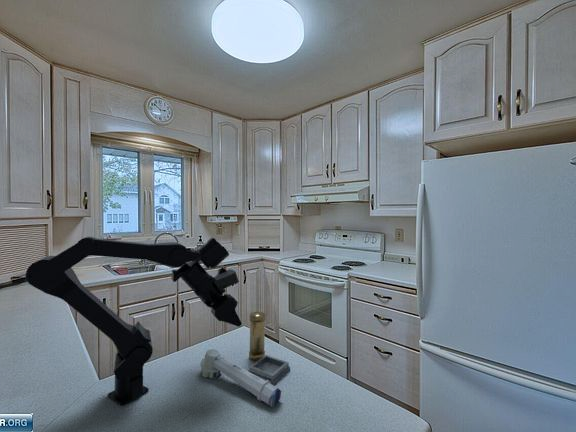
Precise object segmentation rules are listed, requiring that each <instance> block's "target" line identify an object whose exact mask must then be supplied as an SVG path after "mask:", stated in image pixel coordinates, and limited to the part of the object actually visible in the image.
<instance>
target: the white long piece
mask: <svg viewBox="0 0 576 432" xmlns="http://www.w3.org/2000/svg"><path fill="white" fill-rule="evenodd" d="M248 371H249V370H246V369H244V368H243V367H241V366H239V365H237V364H235V363H233V362H232V361H230V360H228V359H225V358H224V357H222V356H221V353H220V352H219V351H218V350H217V349H208V350H207V351H206V352H205V354H204V358H203V359H201V361H200V373H201V376H203V377H204V378H205V379H206V378H210V379H213V378H214V379H215V378H217V377H219V376H220V374H221V373H222V374H224V375H225V376H226V377H228V379H230V380H232V381H234V382H235V383H237V384H238V385H239V386H241V387H242V388H244V390H246V391H248V392H249V393H251V394H252V395H254V396H255V397H256V398H257V399H256V400H258V401H260V402H264V403H265V404H266V405H268V406H269V407H271V408H274V407H275V406H277V404H278V403H279V401H280V399H281V397H282V390H281V389H280V388H278V387H276V386H275V385H272V384H271V382H270V381H268V380H267V381H265V380H263V379H261V378H260V377H258V376H256V375H254V374H252V373H250V372H248Z"/></svg>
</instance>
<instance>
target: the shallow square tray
mask: <svg viewBox="0 0 576 432" xmlns="http://www.w3.org/2000/svg"><path fill="white" fill-rule="evenodd" d="M247 371H248V372H250V373H252V374H254V375H256V376H258V377H260V378H261V379H263V380H265V381H267V380H268V381H270V382H271V384H272V385H273V386H275V385H276V383H278V382H279V381H280V380H281V379H282V378H283V377H285V375H287V373H289V372H290V371H291V366H290V363H289V362H288V361H285V360H282V359H280V358H276V357H273V356H271V355H267V354H265V356H264V357H262V358H261V359H259V360H258V361H254V363H253V364H251V365H250V366H249V367H248V370H247Z"/></svg>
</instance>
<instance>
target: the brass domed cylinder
mask: <svg viewBox="0 0 576 432" xmlns="http://www.w3.org/2000/svg"><path fill="white" fill-rule="evenodd" d="M266 317H267V316H266V313H265V312H264V311H253V312H250V313H249V326H250V327H249V351H248V359H249V360H251V361H253V362H257V361H258V360H259V359H261V358H262V357H264V356H265V355H266V350H265V335H266V333H265V329H266V328H265V324H266V323H265V322H266Z"/></svg>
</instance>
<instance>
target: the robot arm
mask: <svg viewBox="0 0 576 432" xmlns="http://www.w3.org/2000/svg"><path fill="white" fill-rule="evenodd" d="M89 256H94V257H108V258H117V259H118V258H121V259H134V260H144V261H145V260H146V261H150V262H154V263H157V264H159V265H164V266H168V267H172V268H177V269H171V273H172V274H171V280H172V282H173V283H176V282H177V281H178V280H179V279H181V280H182V281H183V282H184V283H185V284H186V285H187V286H188V287H189V288H190V289H191V290H192V291H193V292H194V294H195V295H196V296H197V297H198V299H200V300H201V302H202V303H203V304H204V305H205V306H207V307H208V308H210V309H211V310H210V313H211V314H212V315H213V317H214V318H215V319H217V320H218V322H223V323H226V324H229V325H233V326H235V327H238V328H239V327H241V326H242V325H243V324H242V320H241V319H240V317H239V315H238V313H237V311H236V307H237V306H238V303H239V302H238V301H237V299H235V298H234V297H233V296H232V295H231V294H230V293H225V292H226V291H227V290H226V289H227V288H229V287H231V286H234V285H237V284H238V283H240V280H239V277H238V275H237V272H236V270H234V269H230V268H228V269H226V268H225V267H222V266H221V268H218V270H217V274H215V276H212V275H211V274H209V272H207V270H206V269H208V270H209V269H213V270H214V269H215V268H217V267H218V266H219V265H220V264H221V263H222V262H223V261H224V260H226V258H228V257H229V256H230V253H229V251H228V249H227V248H225V246H223V245H222V244H221V243H220V242H219V241H217V239H216V238H215V237H210V239H208V240H207V242H205V243H204V244H203V245H202V246H201V247H200V248H198V249H194V248H187V247H186V246H185V245H183V244H182V243H180V242H177V241H173V242H172V241H169V242H168V241H167V242H158V243H157V242H155V243H144V242H143V243H142V242H135V241H134V242H133V241H125V240H124V241H123V240H117V239H116V240H115V239H106V238H98V237H94V236H86V237H83V238H81V239H80V240H78V241H77V243H75V244H73V245H72V246H70V247H68V248H67V249H65V250H63V251H62V252H60V253H58V254H57V255H47V256H45V257H43V258H41V259H39V260H37V261H34V262H33V263H31V264H30V265H29V266H28V268H27V269H26V272H25V281H26V282H27V283H28V285H30V286H32V287H33V288H35V289H37V290H39V291H41V292H43V293H44V294H47V295H50V296H52V297H56V298H59V299H60V300H63V301H64V302H66V304H68V305H69V306H70V307H71V308H72V309H74V310H75V311H76V312H77V313H79V315H81V316H82V317H83V318H85V320H87V321H88V322H89V323H90V324H92V325H93V326H94V327H96V328H97V330H99V331H100V332H101V333H103V334H104V335H105V336H106V337H108V338H109V339H110V340H111V341H112V343H113V345H114V347H115V348H116V349H117V353H116V354H115V358H114V368H113V373H114V390H112V391H111V392H108V393H107V398H109V399H111V400H112V401H113V402H116V403H117V404H119V405H120V406H125V405H126V404H128V403H130V402H132V401H135V399H137V398H139V397H140V396H143V395H145V394H146V393H148V392H149V391H150V390H149V389H150V388H149V387H147V386H145V385H144V366H145V363H147V362H148V361H149V360H150V359H151V357H152V355H153V351H154V350H153V348H154V347H153V343H152V342H153V341H152V337H151V331H150V330H149V329H147V328H145V327H144V326H143V324H142V323H141V322H140V321H136V323H135V324H134V325H133V324H130V323H127V322H126V321H124V320H123V319H122V318H121V317H120V316H118V314H117V313H116V312H114V311H113V310H112V309H111V308H110V307H109V306H107V305H106V304H105V303H104V302H103V301H101V299H99V298H98V297H97V296H96V295H95V294H94V293H93V292H92V291H90V290H89V289H88V288H87V287H85V286H84V285H83V284H82V282H81V281H80V280H79V278H78V276H77V274H76V273H75V271H74V269H73V268H72V267H74V266H76V264H79V263H80V262H81V261H84V260H85V259H86V258H88V257H89ZM187 262H188V263H187ZM201 264H203V266H204V267H205V268H206V269H205V268H204V267H203V266H202V265H201ZM224 293H225V294H224Z"/></svg>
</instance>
